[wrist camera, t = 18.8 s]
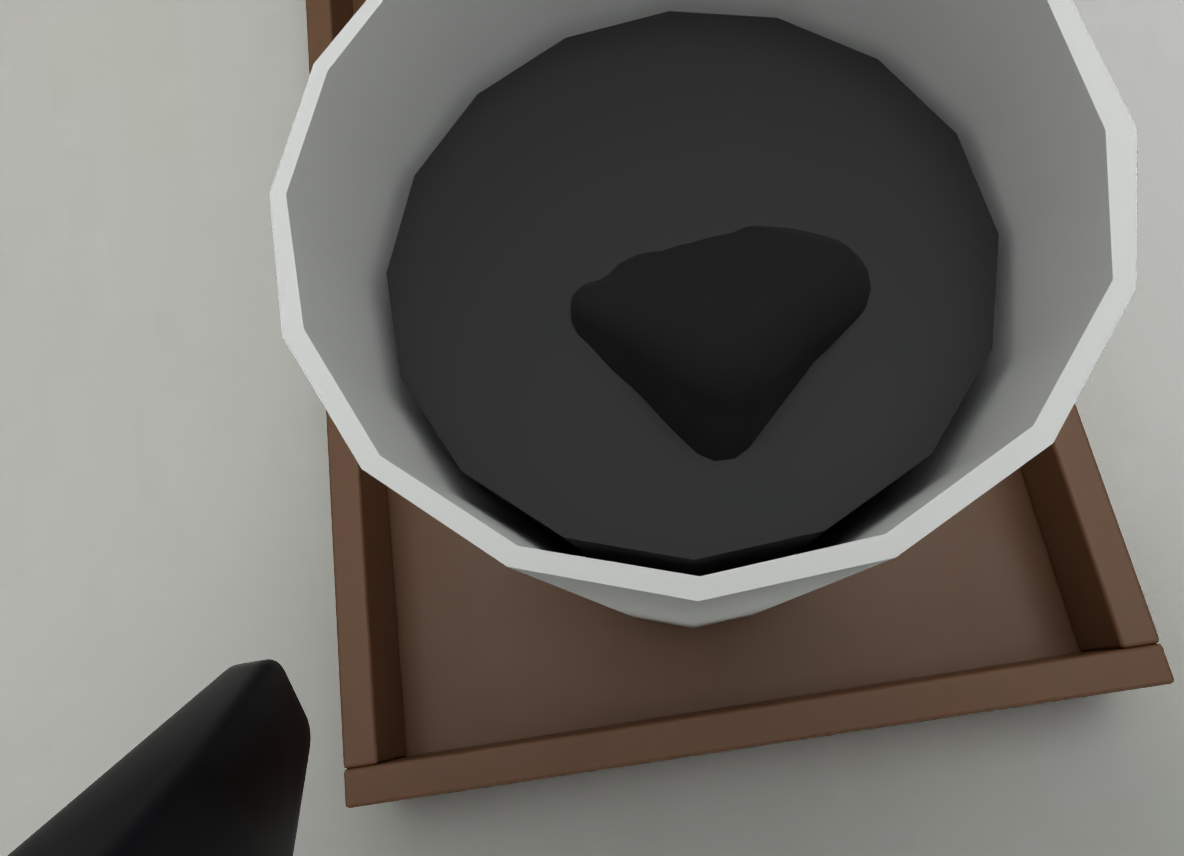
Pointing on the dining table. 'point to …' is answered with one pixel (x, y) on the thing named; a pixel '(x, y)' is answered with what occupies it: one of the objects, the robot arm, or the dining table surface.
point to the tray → (713, 632)
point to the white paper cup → (703, 274)
